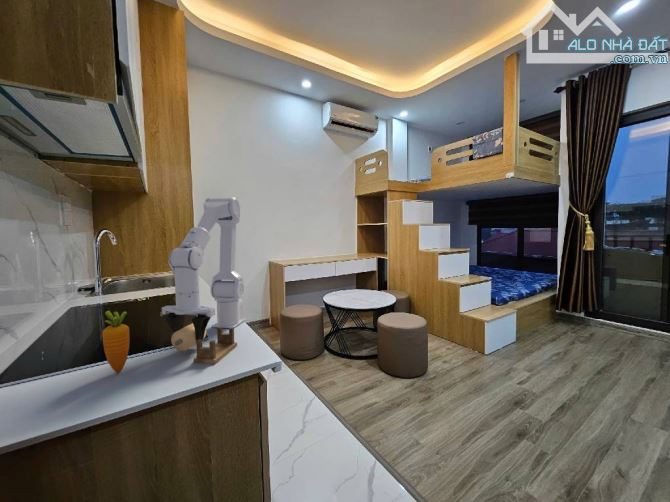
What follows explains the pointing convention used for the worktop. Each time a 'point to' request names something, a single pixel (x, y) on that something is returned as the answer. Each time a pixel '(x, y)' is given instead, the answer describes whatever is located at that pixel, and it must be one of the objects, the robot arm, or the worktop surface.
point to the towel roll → (184, 338)
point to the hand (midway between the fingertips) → (189, 340)
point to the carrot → (116, 341)
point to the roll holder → (215, 347)
